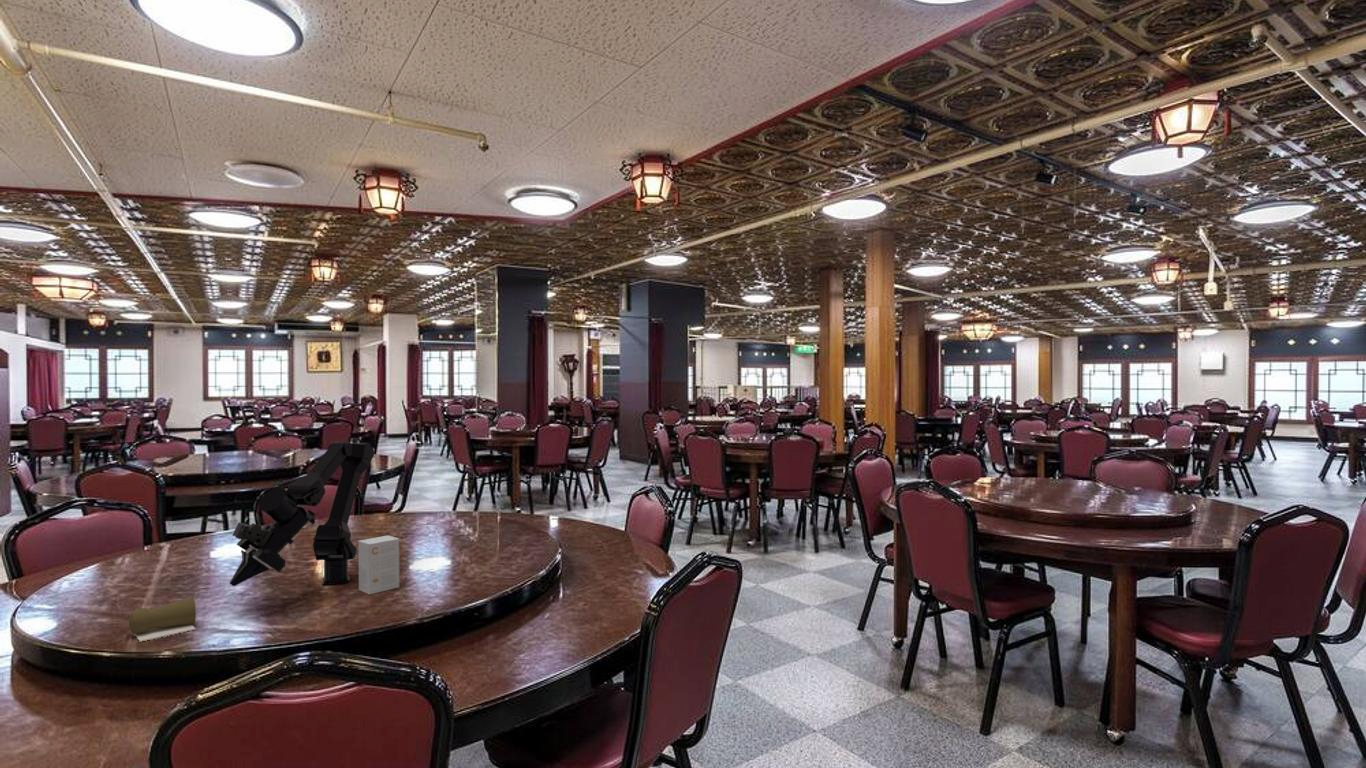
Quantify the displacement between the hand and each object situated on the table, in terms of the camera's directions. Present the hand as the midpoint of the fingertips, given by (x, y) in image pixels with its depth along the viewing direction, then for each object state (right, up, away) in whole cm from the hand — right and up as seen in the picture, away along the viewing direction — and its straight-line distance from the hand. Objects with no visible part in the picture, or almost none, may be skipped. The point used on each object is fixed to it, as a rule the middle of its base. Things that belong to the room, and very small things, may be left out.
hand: (231, 584), depth 154 cm
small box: (+25, -7, +20) cm, 33 cm away
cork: (-5, -4, -5) cm, 8 cm away
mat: (-8, -7, -10) cm, 15 cm away
